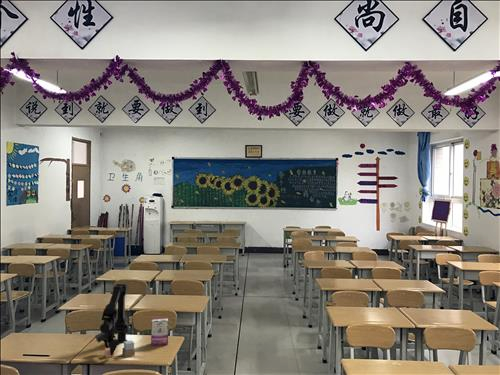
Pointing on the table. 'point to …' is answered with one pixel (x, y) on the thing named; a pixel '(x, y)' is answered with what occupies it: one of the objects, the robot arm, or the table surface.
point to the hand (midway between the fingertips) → (109, 352)
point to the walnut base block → (128, 352)
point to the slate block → (128, 345)
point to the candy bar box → (159, 332)
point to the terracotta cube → (108, 353)
